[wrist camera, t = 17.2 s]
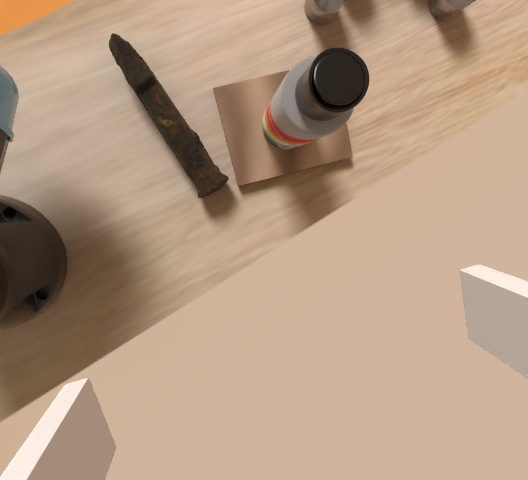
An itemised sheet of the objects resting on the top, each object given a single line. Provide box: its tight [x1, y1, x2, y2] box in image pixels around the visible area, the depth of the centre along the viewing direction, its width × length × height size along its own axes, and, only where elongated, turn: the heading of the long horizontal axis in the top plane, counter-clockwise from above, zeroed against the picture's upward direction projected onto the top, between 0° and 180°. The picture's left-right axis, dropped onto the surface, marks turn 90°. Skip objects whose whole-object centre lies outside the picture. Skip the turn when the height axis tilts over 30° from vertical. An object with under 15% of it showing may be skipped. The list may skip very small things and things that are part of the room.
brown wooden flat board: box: [213, 70, 353, 186], centre depth 41 cm, size 14×11×1 cm
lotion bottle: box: [262, 48, 369, 150], centre depth 31 cm, size 6×6×20 cm
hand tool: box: [109, 33, 229, 198], centre depth 39 cm, size 19×4×5 cm, turn 30°
